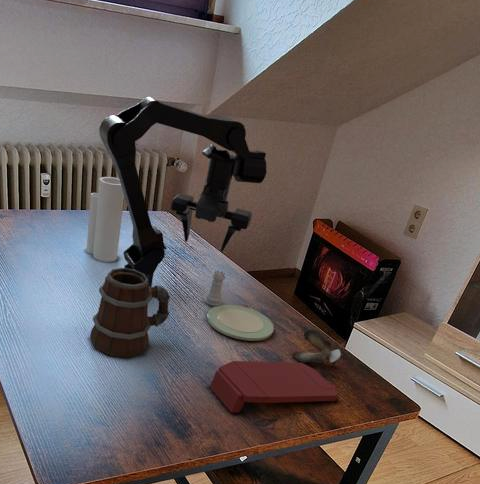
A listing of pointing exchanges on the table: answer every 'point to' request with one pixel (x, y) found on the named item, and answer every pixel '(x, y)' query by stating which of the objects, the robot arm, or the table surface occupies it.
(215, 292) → the rook chess piece
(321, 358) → the eagle figurine
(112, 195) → the vase
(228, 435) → the table surface
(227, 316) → the plate
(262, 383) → the dark red wedge slab
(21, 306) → the table surface
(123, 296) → the mug
